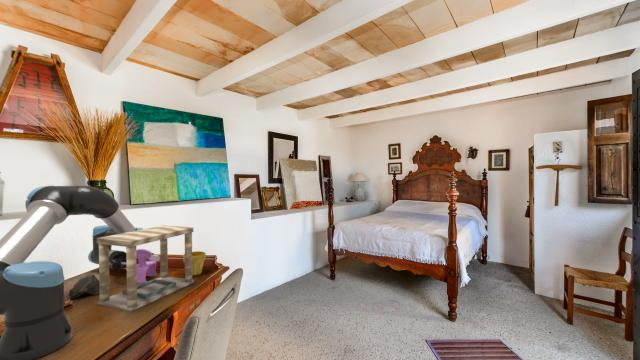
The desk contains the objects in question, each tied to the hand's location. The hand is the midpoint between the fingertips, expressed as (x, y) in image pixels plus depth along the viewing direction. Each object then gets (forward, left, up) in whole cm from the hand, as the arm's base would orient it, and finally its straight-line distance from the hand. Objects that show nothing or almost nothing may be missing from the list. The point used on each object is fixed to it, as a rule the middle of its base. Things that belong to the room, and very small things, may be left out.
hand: (146, 262), depth 130 cm
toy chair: (-1, 0, -8) cm, 8 cm away
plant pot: (+13, -16, -8) cm, 22 cm away
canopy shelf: (-11, -16, -8) cm, 21 cm away
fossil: (-21, +8, -8) cm, 24 cm away
